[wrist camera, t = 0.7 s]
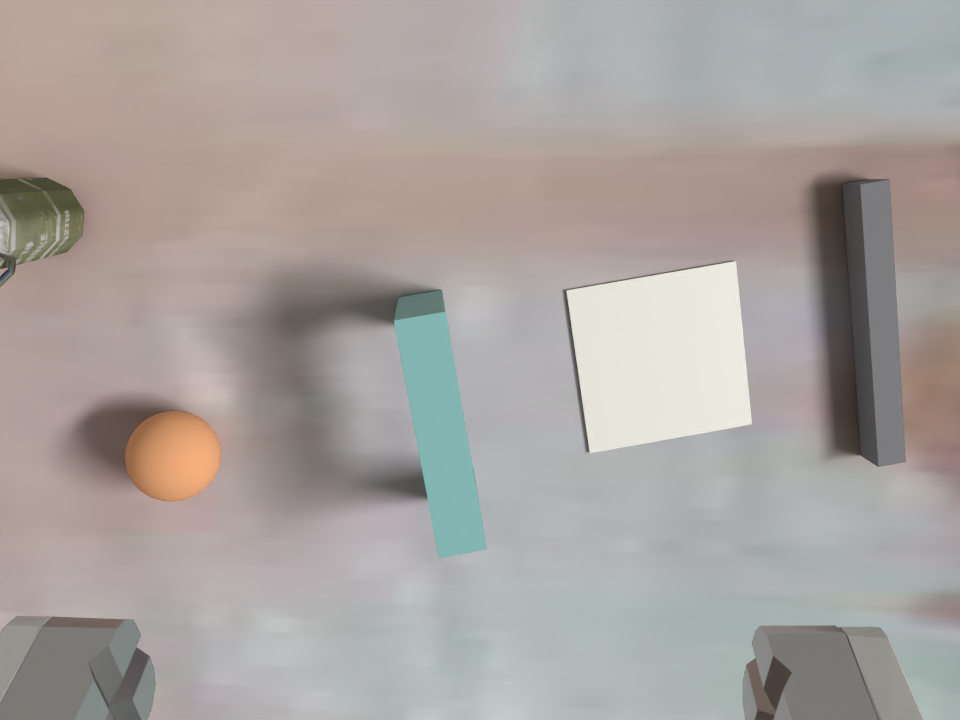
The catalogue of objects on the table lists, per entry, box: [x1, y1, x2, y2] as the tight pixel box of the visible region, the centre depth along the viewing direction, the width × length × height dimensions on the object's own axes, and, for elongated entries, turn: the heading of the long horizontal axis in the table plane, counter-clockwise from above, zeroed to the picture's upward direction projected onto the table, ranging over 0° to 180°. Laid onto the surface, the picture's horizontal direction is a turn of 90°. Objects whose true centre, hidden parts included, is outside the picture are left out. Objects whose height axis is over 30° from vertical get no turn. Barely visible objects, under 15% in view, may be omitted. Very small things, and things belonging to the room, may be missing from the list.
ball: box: [125, 411, 221, 501], centre depth 57 cm, size 6×6×6 cm
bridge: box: [394, 290, 487, 558], centre depth 55 cm, size 3×15×10 cm, turn 9°
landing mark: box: [566, 261, 752, 453], centre depth 60 cm, size 12×12×1 cm
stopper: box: [842, 179, 906, 467], centre depth 60 cm, size 20×2×2 cm, turn 9°
